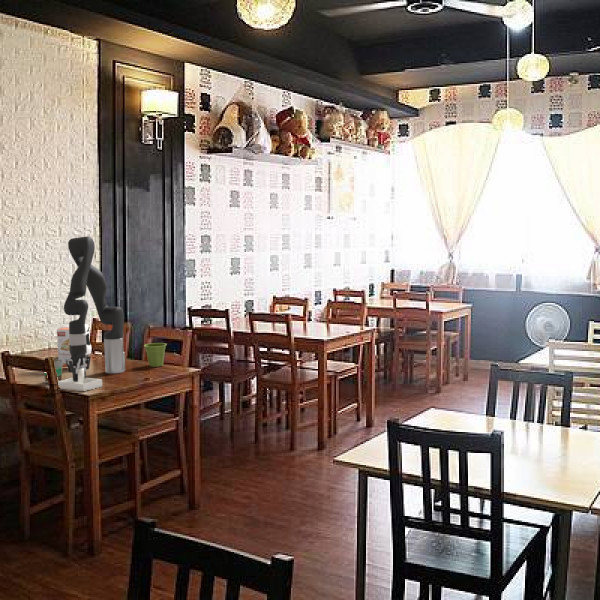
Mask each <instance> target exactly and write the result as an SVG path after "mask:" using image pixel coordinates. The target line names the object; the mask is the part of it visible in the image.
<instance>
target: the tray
mask: <svg viewBox="0 0 600 600" xmlns="http://www.w3.org/2000/svg"><path fill="white" fill-rule="evenodd" d="M58 385H59V387H60V388H61V389H70V390H77V391H76V392H78V391H86V392H88V391H87V390H90V391H92V390H91V389H93V390H96V389H95V388H97V389H100V388H103V379H101V378H91V377H90V378H89V377H86V379H85V383H83V384H80V383H75V382H74V381H73V377H70V378H66V379H62V380H61V381H58ZM99 387H100V388H99Z"/></svg>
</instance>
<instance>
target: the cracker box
mask: <svg viewBox="0 0 600 600" xmlns="http://www.w3.org/2000/svg"><path fill="white" fill-rule="evenodd" d="M56 334H57V335H56V340H57V356H58V357H57V359H58V360H62V362H63V366H62V367H67V364H66V361H69V360H70V359H71V354H70V350H69V328H57V329H56ZM85 354H86V353H85ZM74 366H75V365H74ZM86 367H87V364H86Z"/></svg>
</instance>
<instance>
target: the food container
mask: <svg viewBox="0 0 600 600" xmlns="http://www.w3.org/2000/svg"><path fill="white" fill-rule="evenodd" d="M53 362H54V364H55V368H56V372H57V377H58V380H59V381H61V380H63V378H62V377H63V376H62V375H63V374H62V373H63V368H62V366H63V362H62V360H58V358H57V359H55V361H53ZM44 380H45V381H44V382H45V385H49V384H48V378H47V374H46V373H44Z"/></svg>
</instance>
